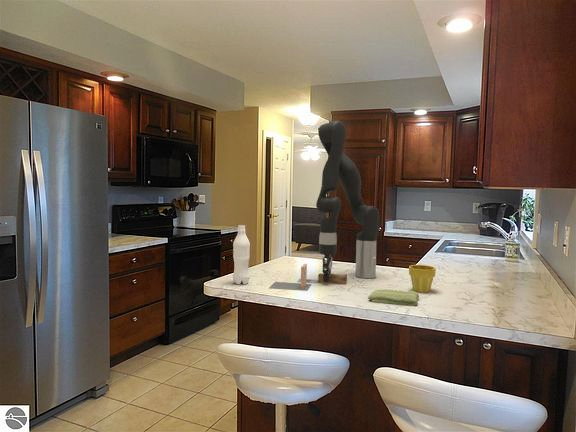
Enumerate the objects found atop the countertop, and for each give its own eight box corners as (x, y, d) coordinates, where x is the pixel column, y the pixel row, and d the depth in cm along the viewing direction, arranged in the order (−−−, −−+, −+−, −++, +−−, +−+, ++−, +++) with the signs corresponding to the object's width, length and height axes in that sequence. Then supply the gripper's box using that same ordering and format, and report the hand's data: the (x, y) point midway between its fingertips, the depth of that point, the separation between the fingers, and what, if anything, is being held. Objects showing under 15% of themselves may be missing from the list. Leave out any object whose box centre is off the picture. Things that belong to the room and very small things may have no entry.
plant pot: (421, 294, 166) (422, 270, 166) (402, 288, 176) (403, 265, 175) (440, 292, 171) (441, 268, 171) (421, 286, 180) (422, 263, 180)
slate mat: (311, 285, 179) (311, 284, 179) (307, 292, 168) (307, 290, 168) (275, 283, 183) (275, 281, 182) (268, 289, 171) (268, 288, 171)
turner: (346, 283, 184) (347, 274, 184) (345, 286, 179) (346, 277, 178) (299, 280, 189) (299, 271, 188) (297, 283, 183) (297, 274, 182)
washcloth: (372, 294, 167) (372, 286, 167) (419, 299, 162) (419, 290, 161) (367, 303, 155) (367, 294, 155) (417, 308, 149) (417, 299, 149)
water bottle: (252, 282, 183) (253, 225, 181) (244, 285, 177) (244, 226, 175) (238, 280, 186) (238, 224, 184) (229, 284, 180) (229, 225, 178)
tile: (306, 285, 177) (306, 263, 177) (303, 289, 170) (304, 267, 170) (303, 284, 178) (303, 263, 177) (300, 288, 171) (301, 266, 170)
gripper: (335, 245, 174) (334, 284, 175) (338, 241, 188) (337, 276, 189) (317, 244, 176) (316, 283, 177) (321, 240, 189) (320, 276, 191)
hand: (327, 279), depth 183 cm, fingers open, 8 cm apart
